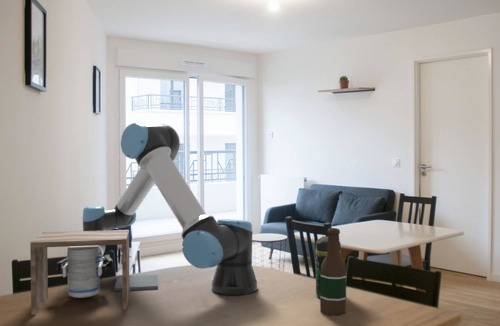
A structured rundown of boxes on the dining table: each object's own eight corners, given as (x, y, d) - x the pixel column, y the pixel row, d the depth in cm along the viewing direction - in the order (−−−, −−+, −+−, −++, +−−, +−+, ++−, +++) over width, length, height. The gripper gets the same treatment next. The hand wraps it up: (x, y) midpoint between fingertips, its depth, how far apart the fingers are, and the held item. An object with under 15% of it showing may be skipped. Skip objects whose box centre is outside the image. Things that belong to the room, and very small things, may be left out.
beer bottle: (340, 318, 135) (341, 232, 134) (314, 313, 139) (315, 229, 138) (350, 310, 141) (351, 228, 141) (325, 305, 146) (326, 225, 145)
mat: (157, 288, 162) (157, 285, 162) (114, 291, 159) (114, 288, 159) (157, 277, 176) (157, 274, 176) (117, 279, 173) (117, 276, 173)
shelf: (126, 309, 142) (126, 239, 141) (31, 315, 137) (30, 242, 136) (129, 292, 158) (129, 229, 157) (43, 297, 152) (42, 232, 152)
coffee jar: (315, 290, 161) (315, 234, 160) (339, 291, 160) (340, 235, 159) (315, 299, 151) (315, 240, 151) (341, 300, 150) (341, 240, 150)
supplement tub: (104, 295, 150) (103, 247, 150) (72, 300, 145) (71, 251, 144) (94, 287, 158) (94, 242, 158) (64, 292, 153) (63, 245, 152)
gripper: (123, 264, 171) (120, 282, 149) (56, 267, 167) (42, 286, 145) (123, 243, 171) (119, 257, 149) (56, 245, 166) (42, 261, 144)
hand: (81, 271), depth 147 cm, fingers closed on supplement tub, 9 cm apart
